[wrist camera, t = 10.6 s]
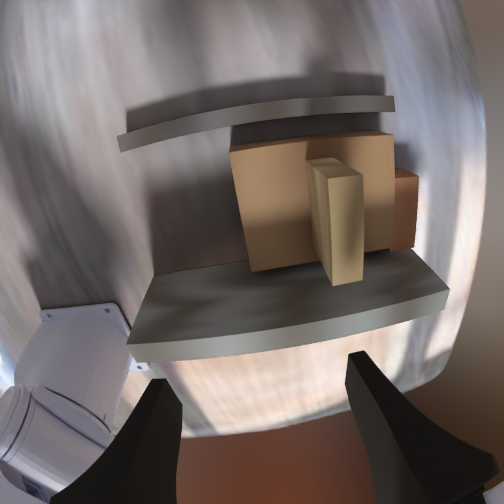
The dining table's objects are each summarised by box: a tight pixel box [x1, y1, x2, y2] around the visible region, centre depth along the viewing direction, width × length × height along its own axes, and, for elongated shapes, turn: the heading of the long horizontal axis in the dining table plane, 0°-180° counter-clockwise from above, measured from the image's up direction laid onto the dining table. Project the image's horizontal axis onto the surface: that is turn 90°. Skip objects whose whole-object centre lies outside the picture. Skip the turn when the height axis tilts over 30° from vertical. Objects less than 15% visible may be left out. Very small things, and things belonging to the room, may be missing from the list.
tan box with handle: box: [229, 130, 395, 286], centre depth 15 cm, size 9×7×7 cm
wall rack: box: [117, 95, 450, 363], centre depth 15 cm, size 18×12×7 cm, turn 99°
